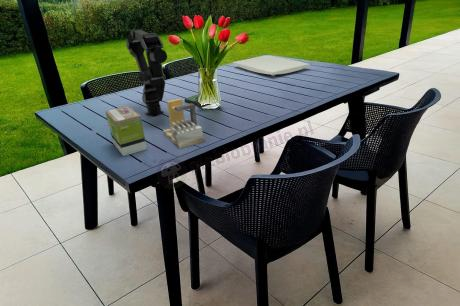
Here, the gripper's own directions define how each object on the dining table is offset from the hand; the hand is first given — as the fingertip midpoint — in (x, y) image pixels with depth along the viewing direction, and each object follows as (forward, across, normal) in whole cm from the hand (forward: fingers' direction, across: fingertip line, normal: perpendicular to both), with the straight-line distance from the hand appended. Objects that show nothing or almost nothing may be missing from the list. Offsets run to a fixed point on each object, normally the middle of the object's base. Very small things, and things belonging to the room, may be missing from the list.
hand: (161, 98), depth 161 cm
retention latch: (+12, +15, +6) cm, 20 cm away
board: (+4, -84, +72) cm, 110 cm away
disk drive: (+10, -26, +18) cm, 33 cm away
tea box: (+14, +21, -15) cm, 30 cm away
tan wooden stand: (+15, +18, +7) cm, 25 cm away
